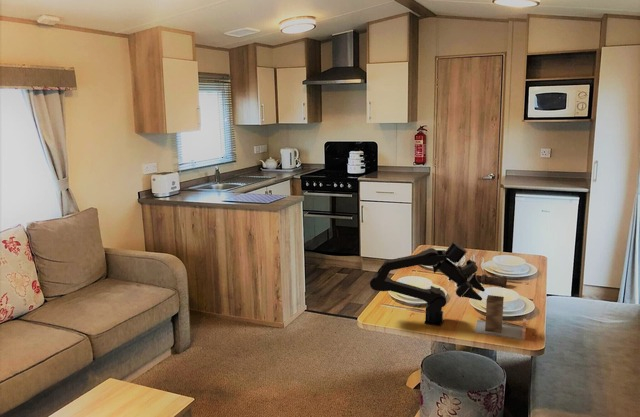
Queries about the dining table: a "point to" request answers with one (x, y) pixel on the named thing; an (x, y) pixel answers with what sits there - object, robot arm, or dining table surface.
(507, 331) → the bay
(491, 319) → the brown wooden block
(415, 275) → the dining table surface
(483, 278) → the bolt
